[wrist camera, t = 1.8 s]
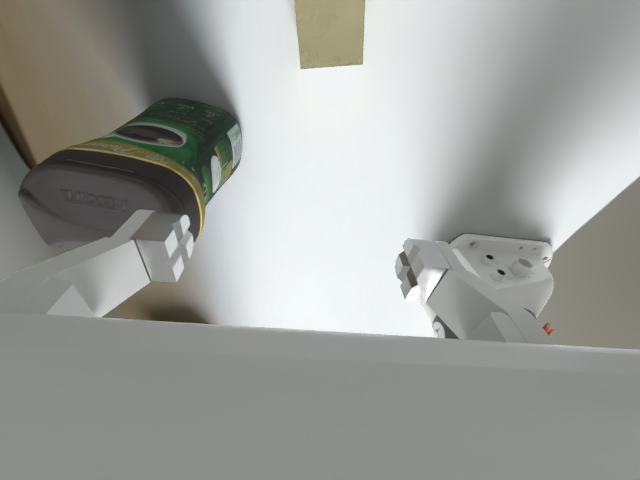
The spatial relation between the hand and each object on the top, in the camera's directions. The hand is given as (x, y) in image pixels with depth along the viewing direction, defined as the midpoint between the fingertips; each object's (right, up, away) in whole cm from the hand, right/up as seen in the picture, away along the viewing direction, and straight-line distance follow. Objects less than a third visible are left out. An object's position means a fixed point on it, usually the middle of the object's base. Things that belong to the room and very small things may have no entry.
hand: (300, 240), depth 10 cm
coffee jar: (-13, +12, +20) cm, 27 cm away
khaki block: (+1, +20, +14) cm, 24 cm away
